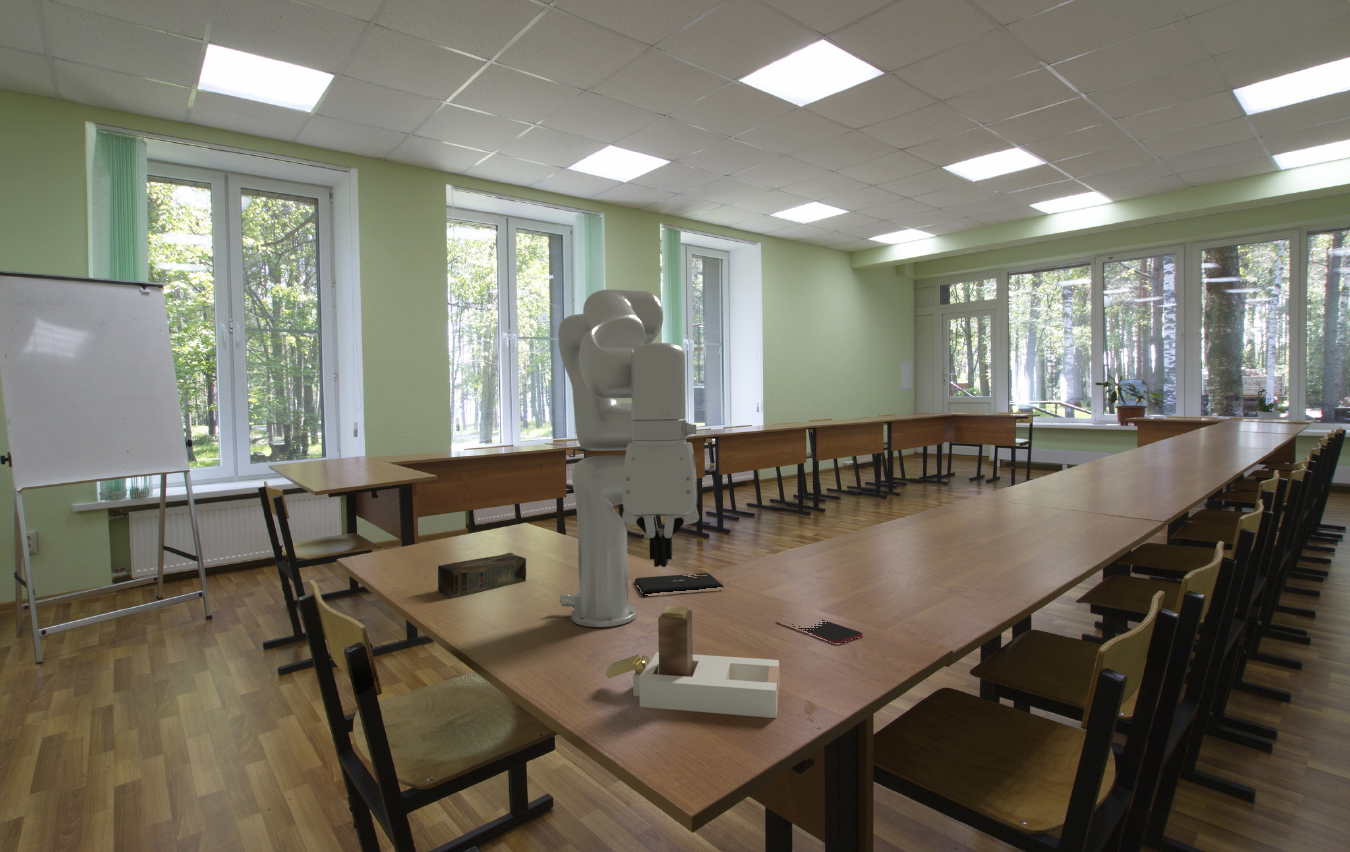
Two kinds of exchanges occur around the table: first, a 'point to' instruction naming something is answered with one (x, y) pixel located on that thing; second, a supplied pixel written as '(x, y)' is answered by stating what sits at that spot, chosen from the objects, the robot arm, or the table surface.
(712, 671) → the white socket holder
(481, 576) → the beverage carton
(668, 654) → the plug
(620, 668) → the latch tab
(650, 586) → the laptop
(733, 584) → the table surface
